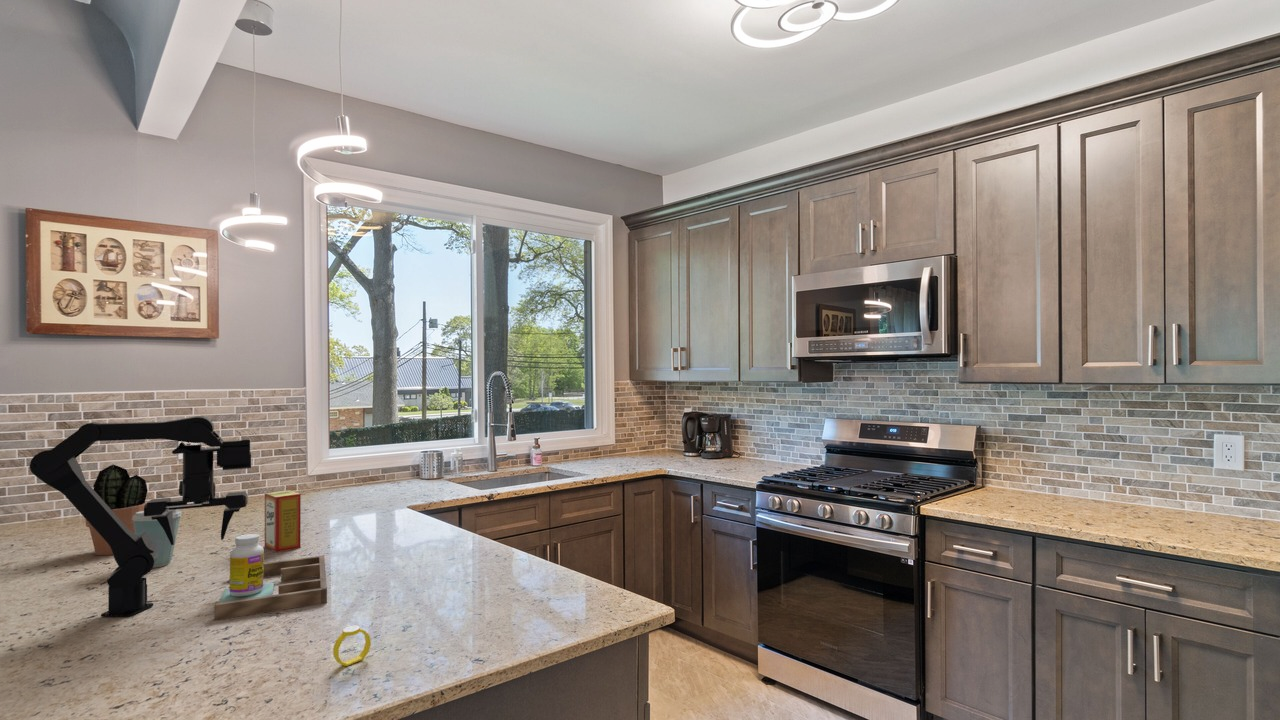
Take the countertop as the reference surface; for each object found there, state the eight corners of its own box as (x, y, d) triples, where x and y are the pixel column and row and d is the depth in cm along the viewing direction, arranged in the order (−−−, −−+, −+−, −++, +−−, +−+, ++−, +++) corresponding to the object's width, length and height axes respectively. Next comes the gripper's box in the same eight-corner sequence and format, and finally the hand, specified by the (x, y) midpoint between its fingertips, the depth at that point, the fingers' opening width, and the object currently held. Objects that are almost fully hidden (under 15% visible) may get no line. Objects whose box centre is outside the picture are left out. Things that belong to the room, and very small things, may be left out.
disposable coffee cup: (123, 567, 169) (123, 510, 169) (168, 557, 178) (169, 503, 179) (144, 573, 164) (144, 514, 164) (190, 562, 173) (190, 506, 174)
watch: (365, 654, 114) (365, 621, 114) (373, 659, 112) (373, 624, 113) (331, 666, 110) (331, 631, 110) (338, 671, 108) (338, 635, 108)
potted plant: (91, 560, 176) (92, 469, 176) (78, 552, 184) (79, 465, 185) (152, 549, 187) (152, 463, 187) (137, 542, 195) (137, 460, 196)
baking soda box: (300, 547, 187) (300, 492, 187) (276, 552, 182) (276, 495, 183) (288, 542, 193) (288, 489, 194) (264, 546, 189) (264, 492, 189)
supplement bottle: (247, 598, 143) (247, 540, 143) (222, 596, 144) (222, 539, 145) (270, 588, 149) (270, 533, 150) (246, 587, 151) (246, 532, 151)
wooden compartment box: (213, 620, 131) (213, 605, 131) (229, 579, 158) (229, 567, 158) (326, 602, 141) (326, 588, 141) (324, 566, 168) (324, 555, 168)
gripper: (249, 464, 155) (249, 529, 155) (154, 470, 147) (154, 539, 146) (245, 470, 145) (245, 539, 145) (143, 477, 137) (143, 551, 137)
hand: (198, 542), depth 144 cm, fingers open, 9 cm apart
